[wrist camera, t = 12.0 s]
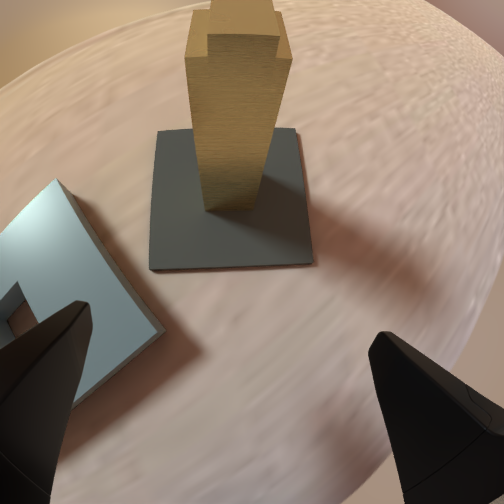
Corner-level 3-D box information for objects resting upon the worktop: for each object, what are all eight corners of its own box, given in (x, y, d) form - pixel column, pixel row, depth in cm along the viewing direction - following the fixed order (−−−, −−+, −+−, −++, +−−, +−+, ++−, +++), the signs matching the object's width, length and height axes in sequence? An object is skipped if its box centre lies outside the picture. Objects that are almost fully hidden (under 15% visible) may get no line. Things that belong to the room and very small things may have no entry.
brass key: (253, 225, 18) (310, 39, 5) (204, 226, 18) (175, 36, 5) (250, 155, 20) (283, -30, 6) (205, 156, 19) (195, -33, 6)
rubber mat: (311, 263, 19) (313, 262, 18) (150, 270, 18) (148, 269, 17) (294, 131, 21) (295, 128, 20) (158, 134, 20) (157, 131, 19)
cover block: (166, 330, 17) (157, 331, 14) (26, 447, 13) (9, 456, 11) (71, 193, 18) (55, 177, 16) (-42, 320, 15) (-60, 318, 12)
